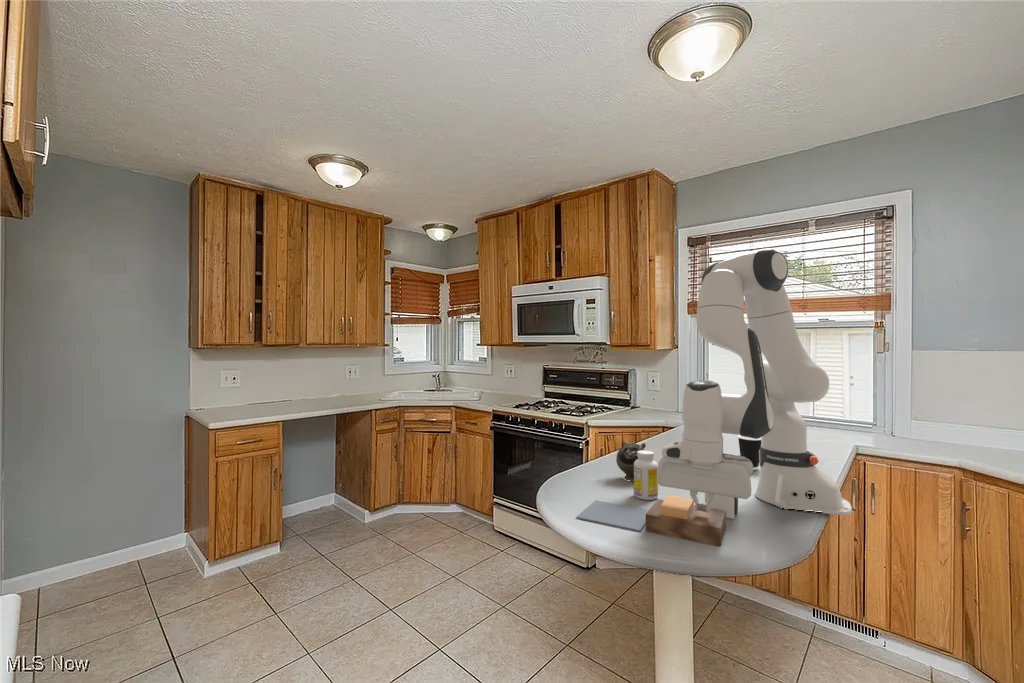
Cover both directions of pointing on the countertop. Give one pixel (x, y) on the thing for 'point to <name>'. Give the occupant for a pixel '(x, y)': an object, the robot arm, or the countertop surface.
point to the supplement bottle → (645, 476)
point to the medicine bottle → (725, 505)
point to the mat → (615, 515)
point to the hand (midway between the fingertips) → (702, 510)
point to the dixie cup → (750, 449)
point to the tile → (677, 507)
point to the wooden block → (688, 525)
